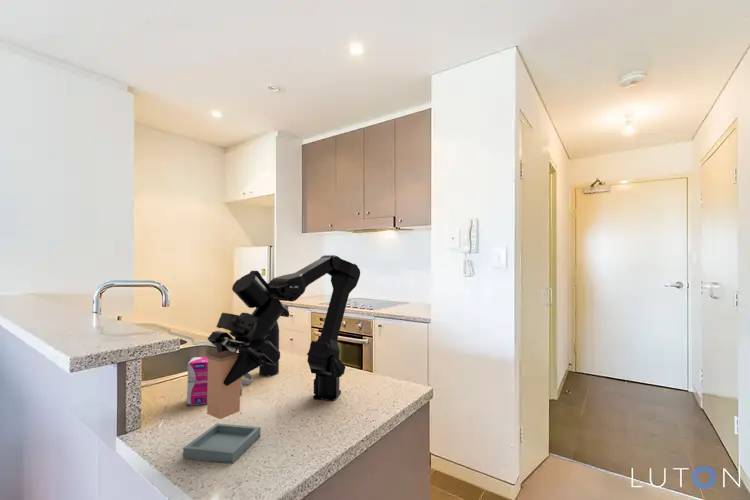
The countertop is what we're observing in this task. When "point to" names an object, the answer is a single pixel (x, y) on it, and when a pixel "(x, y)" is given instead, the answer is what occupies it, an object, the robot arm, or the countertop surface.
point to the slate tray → (222, 443)
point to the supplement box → (197, 381)
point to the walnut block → (240, 388)
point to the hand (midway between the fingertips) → (218, 382)
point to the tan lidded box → (222, 385)
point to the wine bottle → (266, 368)
